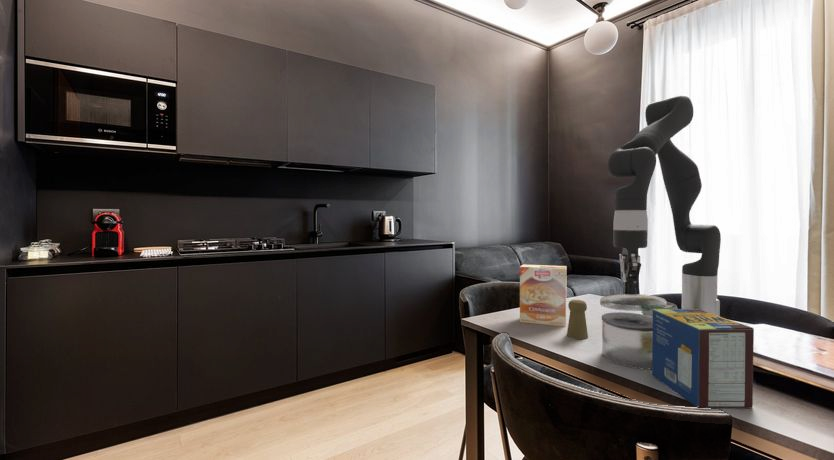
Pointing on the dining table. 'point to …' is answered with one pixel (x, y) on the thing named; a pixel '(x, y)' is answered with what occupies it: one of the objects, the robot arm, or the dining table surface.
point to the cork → (577, 320)
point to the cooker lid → (633, 302)
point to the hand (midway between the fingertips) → (629, 296)
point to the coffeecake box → (543, 294)
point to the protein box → (703, 357)
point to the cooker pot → (627, 339)
